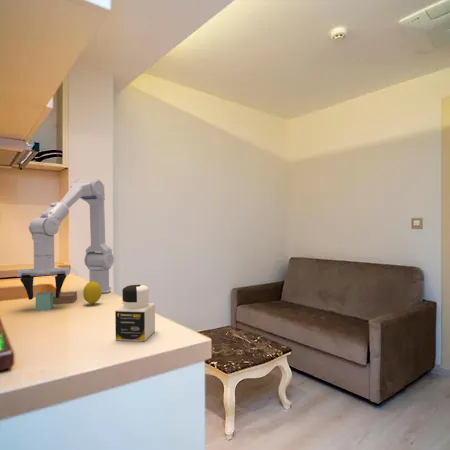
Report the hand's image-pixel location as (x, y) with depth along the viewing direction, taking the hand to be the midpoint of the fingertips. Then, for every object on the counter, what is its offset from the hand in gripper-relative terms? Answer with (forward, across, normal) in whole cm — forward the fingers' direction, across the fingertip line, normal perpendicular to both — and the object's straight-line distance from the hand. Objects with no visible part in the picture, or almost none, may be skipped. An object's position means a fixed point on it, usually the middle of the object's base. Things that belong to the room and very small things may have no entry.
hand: (44, 298), depth 105 cm
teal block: (+3, 0, 0) cm, 3 cm away
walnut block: (+4, +4, +9) cm, 11 cm away
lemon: (+3, +14, +2) cm, 15 cm away
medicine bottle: (+4, +28, -34) cm, 44 cm away
